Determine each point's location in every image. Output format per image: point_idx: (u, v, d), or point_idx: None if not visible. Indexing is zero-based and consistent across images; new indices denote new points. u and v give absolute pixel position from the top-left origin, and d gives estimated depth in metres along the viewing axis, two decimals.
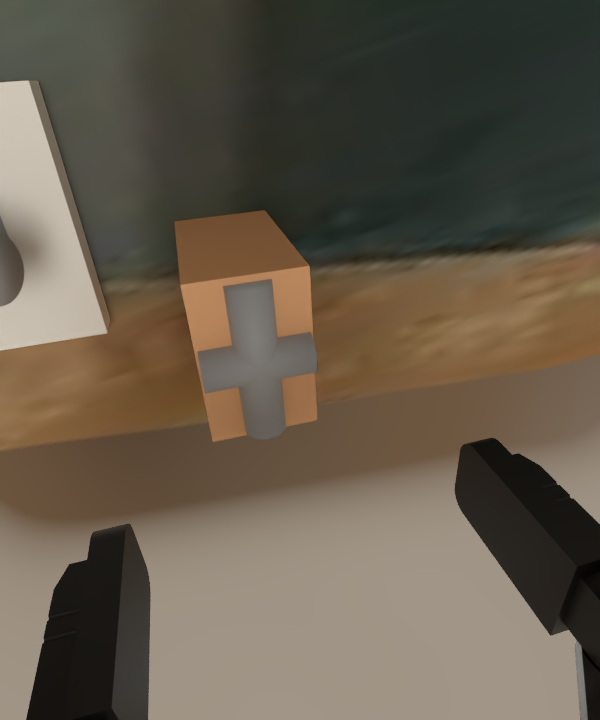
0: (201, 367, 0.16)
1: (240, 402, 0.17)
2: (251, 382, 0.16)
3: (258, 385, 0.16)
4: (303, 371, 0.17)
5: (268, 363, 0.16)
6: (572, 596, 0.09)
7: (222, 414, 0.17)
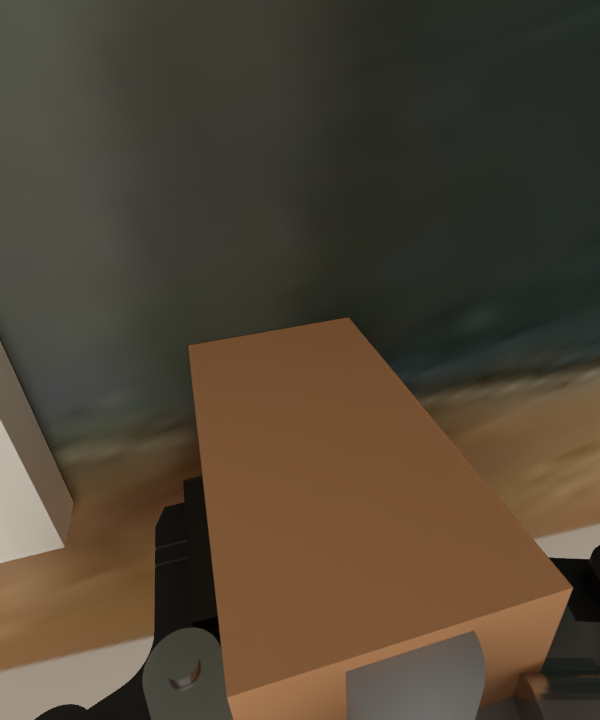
0: None
1: None
2: None
3: None
4: None
5: None
6: None
7: None
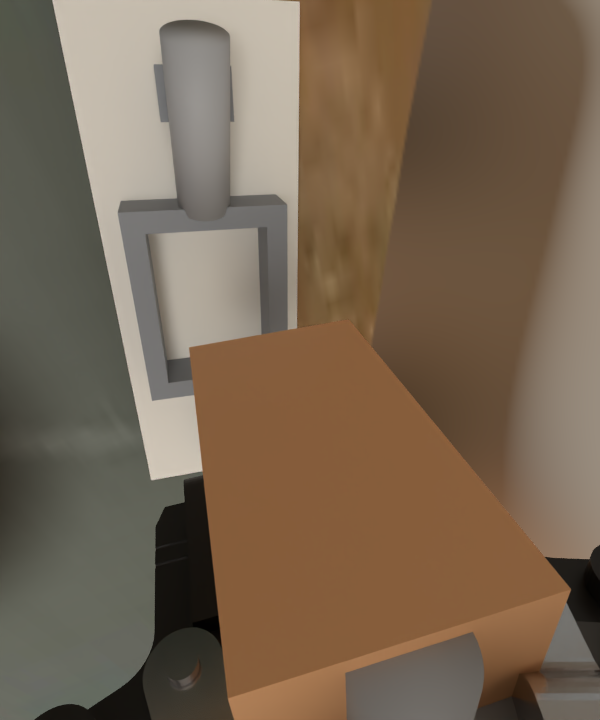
0: None
1: None
2: None
3: None
4: None
5: None
6: None
7: None
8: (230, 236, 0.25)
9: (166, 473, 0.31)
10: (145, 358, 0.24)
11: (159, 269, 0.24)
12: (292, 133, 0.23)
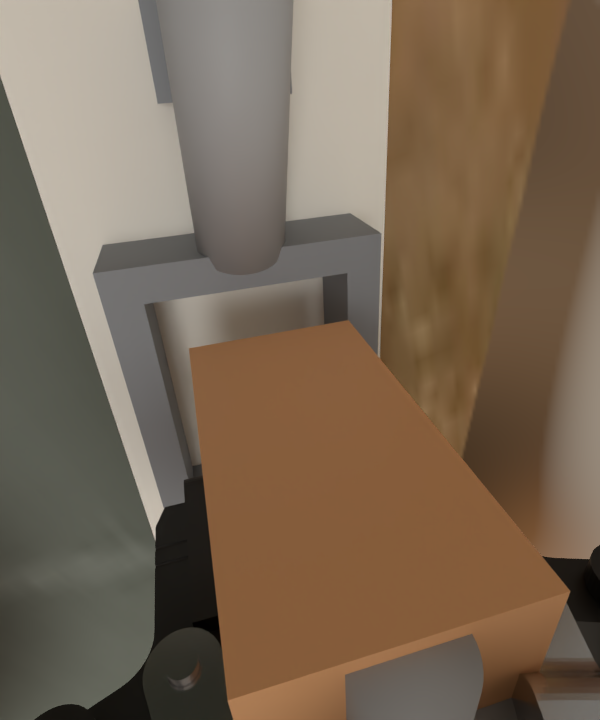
0: None
1: None
2: None
3: None
4: None
5: None
6: None
7: None
8: (279, 284, 0.16)
9: None
10: (159, 486, 0.15)
11: (172, 343, 0.16)
12: (378, 111, 0.14)
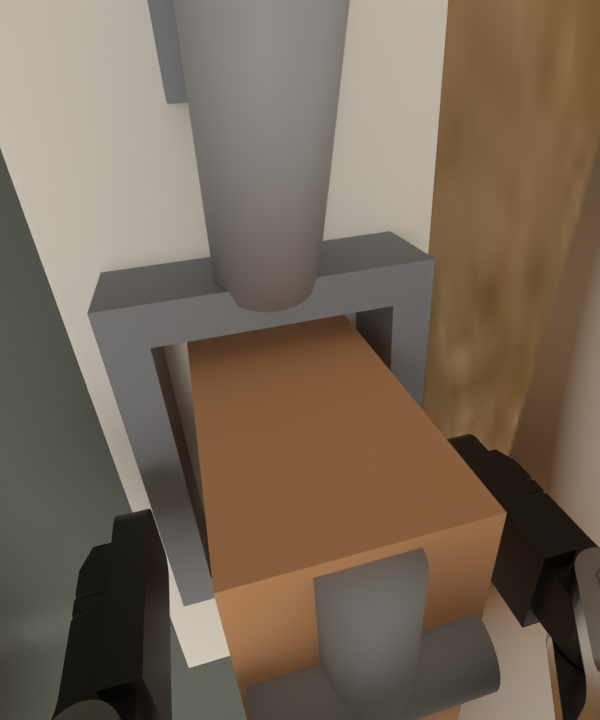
0: None
1: None
2: None
3: None
4: None
5: (402, 709, 0.07)
6: (541, 588, 0.09)
7: None
8: None
9: (211, 656, 0.20)
10: (167, 550, 0.13)
11: (182, 382, 0.13)
12: (428, 112, 0.11)
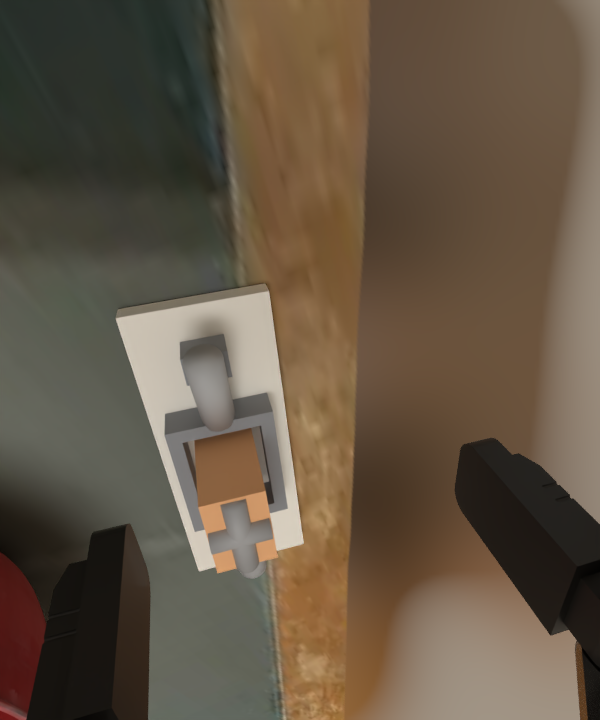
0: (209, 543, 0.29)
1: (232, 553, 0.31)
2: (237, 548, 0.30)
3: (241, 549, 0.30)
4: (265, 540, 0.30)
5: (245, 539, 0.30)
6: (572, 596, 0.09)
7: (222, 559, 0.31)
8: None
9: (209, 565, 0.43)
10: (188, 508, 0.36)
11: (192, 446, 0.36)
12: (273, 358, 0.34)
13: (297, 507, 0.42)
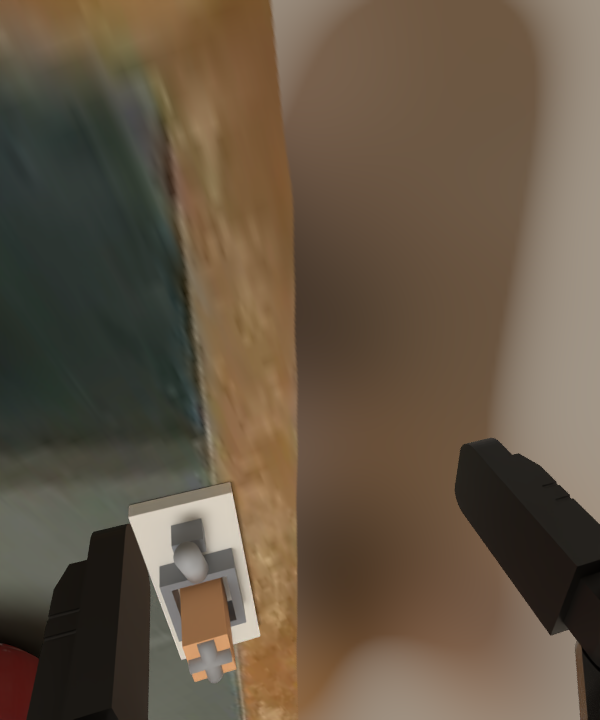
0: (189, 668, 0.44)
1: (204, 670, 0.46)
2: (207, 669, 0.45)
3: (210, 670, 0.45)
4: (227, 663, 0.45)
5: (213, 664, 0.45)
6: (572, 596, 0.09)
7: (198, 674, 0.46)
8: None
9: None
10: (174, 628, 0.51)
11: None
12: (236, 528, 0.49)
13: (255, 613, 0.57)
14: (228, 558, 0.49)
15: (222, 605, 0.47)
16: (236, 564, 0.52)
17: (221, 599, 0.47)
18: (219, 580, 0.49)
